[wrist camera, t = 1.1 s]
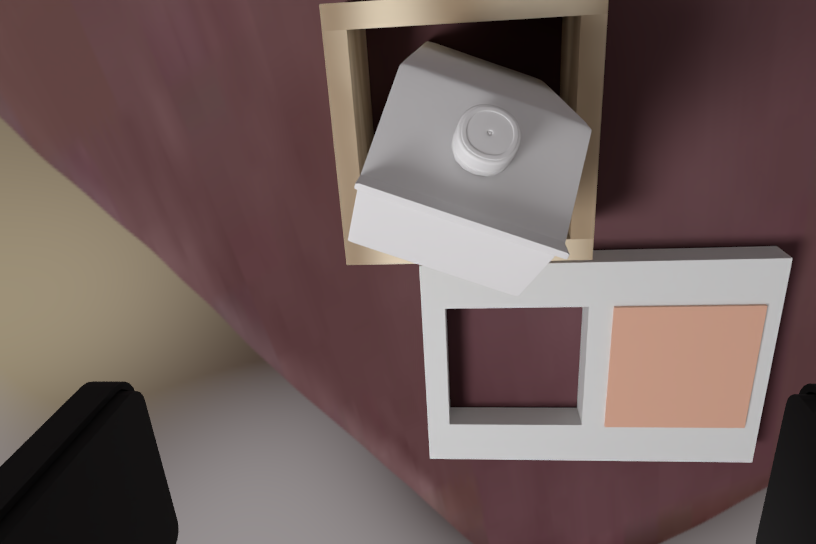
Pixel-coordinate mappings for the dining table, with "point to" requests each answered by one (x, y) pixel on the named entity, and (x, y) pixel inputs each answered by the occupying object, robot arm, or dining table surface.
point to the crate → (443, 4)
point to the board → (627, 357)
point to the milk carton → (471, 171)
